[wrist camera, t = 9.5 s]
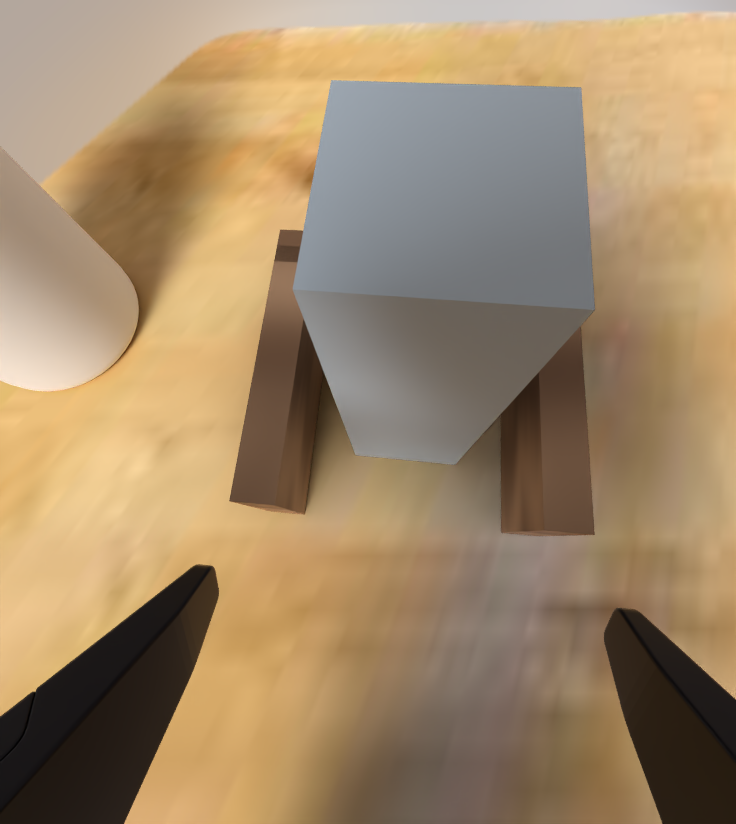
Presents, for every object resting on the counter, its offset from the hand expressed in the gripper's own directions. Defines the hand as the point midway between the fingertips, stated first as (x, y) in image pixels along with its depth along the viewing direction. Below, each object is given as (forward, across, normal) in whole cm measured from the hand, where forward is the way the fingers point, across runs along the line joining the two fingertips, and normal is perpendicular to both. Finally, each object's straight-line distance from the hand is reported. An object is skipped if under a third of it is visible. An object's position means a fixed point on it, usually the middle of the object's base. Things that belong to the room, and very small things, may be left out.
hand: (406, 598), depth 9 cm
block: (+11, 0, +1) cm, 11 cm away
